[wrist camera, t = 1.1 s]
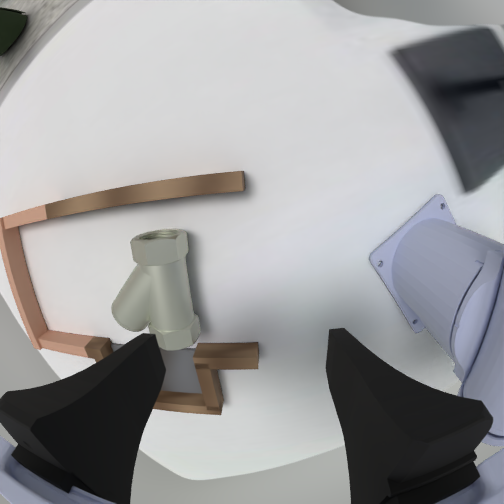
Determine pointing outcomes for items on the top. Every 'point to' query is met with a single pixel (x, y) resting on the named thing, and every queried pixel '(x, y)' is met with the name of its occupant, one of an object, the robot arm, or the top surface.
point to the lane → (184, 360)
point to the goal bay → (8, 240)
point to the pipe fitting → (159, 290)
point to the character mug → (10, 27)
